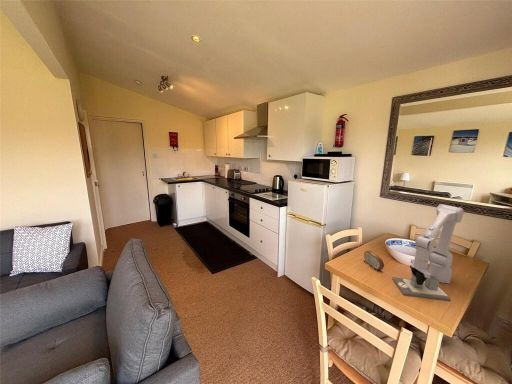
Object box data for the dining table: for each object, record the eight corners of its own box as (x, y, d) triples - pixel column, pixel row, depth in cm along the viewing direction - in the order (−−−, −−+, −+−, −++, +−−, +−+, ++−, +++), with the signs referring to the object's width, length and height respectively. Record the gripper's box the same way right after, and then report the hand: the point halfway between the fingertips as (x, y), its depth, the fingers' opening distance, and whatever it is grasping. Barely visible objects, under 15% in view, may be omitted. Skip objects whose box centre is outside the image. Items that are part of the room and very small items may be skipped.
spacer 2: (432, 285, 115) (434, 275, 114) (437, 290, 111) (439, 280, 110) (424, 284, 116) (426, 274, 115) (428, 289, 112) (430, 279, 111)
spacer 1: (418, 284, 116) (420, 274, 115) (422, 288, 113) (424, 278, 111) (410, 283, 117) (412, 273, 116) (414, 287, 113) (416, 277, 112)
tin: (383, 272, 130) (385, 259, 129) (378, 272, 130) (380, 260, 128) (366, 259, 145) (368, 248, 143) (362, 260, 144) (364, 248, 142)
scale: (433, 283, 120) (433, 280, 119) (450, 301, 106) (450, 297, 106) (392, 279, 124) (392, 276, 123) (403, 295, 110) (404, 292, 110)
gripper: (406, 251, 119) (402, 273, 122) (420, 265, 105) (416, 289, 108) (420, 252, 118) (416, 274, 121) (437, 267, 104) (431, 291, 107)
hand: (417, 281), depth 114 cm, fingers closed on spacer 1, 4 cm apart
